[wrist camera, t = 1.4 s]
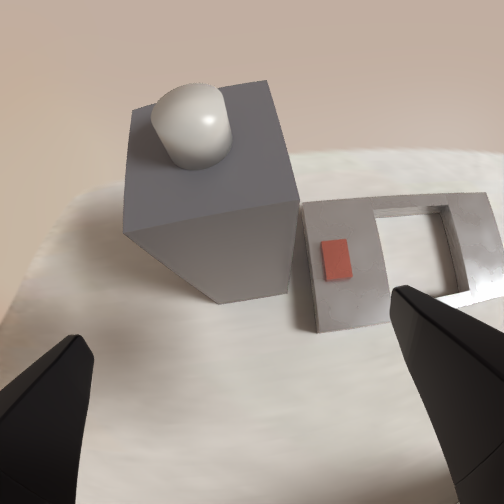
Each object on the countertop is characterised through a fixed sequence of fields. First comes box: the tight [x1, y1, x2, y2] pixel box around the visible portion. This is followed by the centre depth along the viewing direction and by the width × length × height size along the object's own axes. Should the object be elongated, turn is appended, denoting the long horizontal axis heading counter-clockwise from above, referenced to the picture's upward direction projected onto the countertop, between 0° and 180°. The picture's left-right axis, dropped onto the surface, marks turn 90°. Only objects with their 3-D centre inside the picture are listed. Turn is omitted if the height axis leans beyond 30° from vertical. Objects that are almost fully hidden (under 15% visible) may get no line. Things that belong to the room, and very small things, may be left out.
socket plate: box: [301, 192, 504, 334], centre depth 18 cm, size 16×8×2 cm, turn 95°
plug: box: [123, 80, 300, 304], centre depth 13 cm, size 4×4×14 cm
